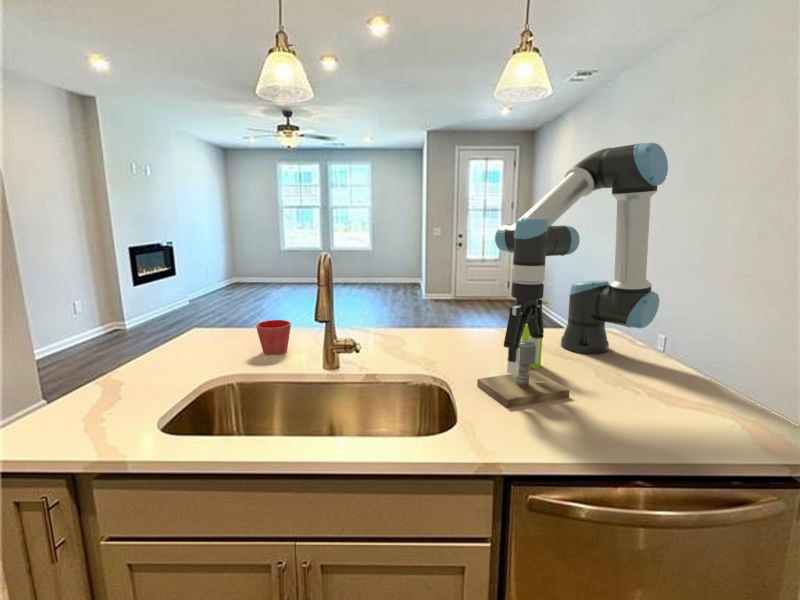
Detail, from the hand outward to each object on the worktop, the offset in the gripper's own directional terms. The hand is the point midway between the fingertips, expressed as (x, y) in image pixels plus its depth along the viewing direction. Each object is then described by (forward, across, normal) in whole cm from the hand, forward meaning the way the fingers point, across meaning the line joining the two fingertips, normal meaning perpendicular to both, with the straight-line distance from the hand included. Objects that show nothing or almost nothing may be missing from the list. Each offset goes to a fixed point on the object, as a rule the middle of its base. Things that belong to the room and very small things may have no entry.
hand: (523, 367), depth 108 cm
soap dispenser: (+7, -21, -6) cm, 23 cm away
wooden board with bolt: (+6, 0, 0) cm, 6 cm away
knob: (-2, 0, 0) cm, 2 cm away
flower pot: (+7, +22, -78) cm, 81 cm away
